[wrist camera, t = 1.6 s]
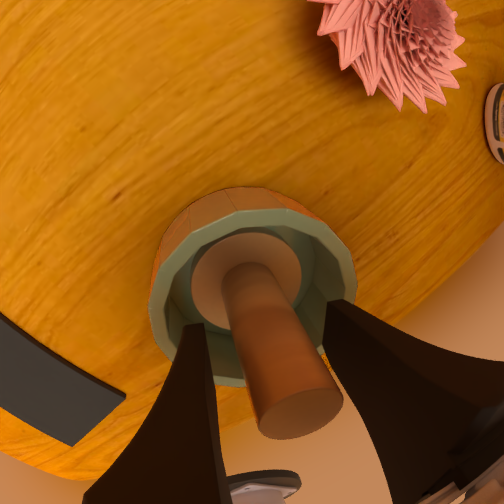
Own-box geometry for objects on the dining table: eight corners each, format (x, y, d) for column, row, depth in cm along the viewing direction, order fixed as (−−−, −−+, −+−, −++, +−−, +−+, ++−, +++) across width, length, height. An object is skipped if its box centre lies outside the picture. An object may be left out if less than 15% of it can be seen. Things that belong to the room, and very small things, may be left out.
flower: (373, 143, 13) (459, 165, 8) (236, 36, 10) (275, -17, 5) (435, 44, 11) (512, 39, 6) (328, -56, 8) (389, -104, 3)
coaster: (72, 443, 18) (72, 447, 17) (-29, 381, 13) (-31, 384, 13) (126, 394, 16) (125, 399, 16) (-9, 305, 12) (-12, 309, 12)
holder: (242, 360, 17) (256, 406, 14) (121, 282, 13) (107, 328, 10) (350, 261, 16) (386, 295, 12) (242, 147, 12) (264, 156, 9)
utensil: (243, 334, 16) (288, 468, 8) (167, 281, 13) (167, 436, 6) (314, 268, 15) (407, 384, 8) (243, 200, 13) (324, 310, 6)
